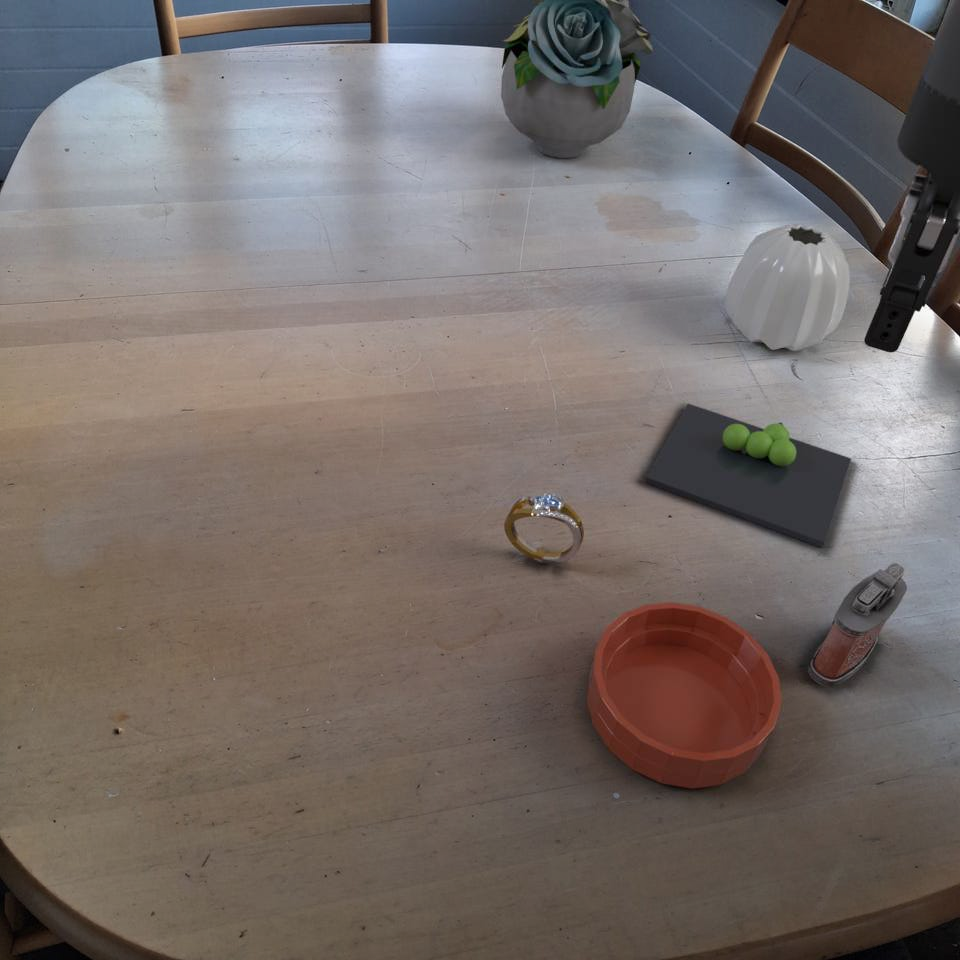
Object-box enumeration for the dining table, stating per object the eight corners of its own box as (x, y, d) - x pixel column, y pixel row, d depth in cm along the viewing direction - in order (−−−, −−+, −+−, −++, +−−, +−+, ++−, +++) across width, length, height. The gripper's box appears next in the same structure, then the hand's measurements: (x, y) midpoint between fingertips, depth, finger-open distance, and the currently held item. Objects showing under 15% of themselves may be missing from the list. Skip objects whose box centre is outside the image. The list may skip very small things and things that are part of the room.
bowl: (783, 679, 75) (799, 646, 72) (738, 824, 65) (754, 793, 62) (622, 612, 79) (631, 578, 76) (558, 738, 69) (565, 706, 66)
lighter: (848, 619, 80) (890, 542, 73) (883, 643, 78) (929, 566, 71) (798, 668, 76) (837, 591, 69) (834, 695, 74) (877, 618, 67)
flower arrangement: (663, 153, 152) (695, -6, 135) (569, 196, 138) (592, 25, 121) (551, 108, 164) (568, -44, 147) (454, 143, 150) (461, -20, 133)
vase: (707, 343, 111) (734, 244, 101) (734, 291, 120) (761, 196, 111) (820, 377, 107) (859, 277, 98) (839, 321, 116) (876, 224, 107)
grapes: (788, 475, 92) (801, 441, 96) (796, 454, 90) (809, 421, 94) (716, 450, 95) (732, 418, 99) (723, 429, 93) (738, 398, 97)
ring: (497, 559, 83) (504, 496, 77) (510, 536, 85) (518, 473, 79) (569, 585, 81) (581, 522, 75) (580, 561, 83) (593, 498, 78)
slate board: (849, 463, 95) (851, 458, 95) (822, 548, 86) (825, 542, 85) (686, 408, 101) (687, 403, 100) (644, 482, 91) (646, 476, 91)
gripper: (1056, 136, 47) (932, 386, 58) (1062, 60, 56) (954, 287, 67) (907, 104, 49) (815, 351, 60) (937, 36, 59) (853, 260, 70)
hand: (889, 317), depth 64 cm, fingers open, 8 cm apart
